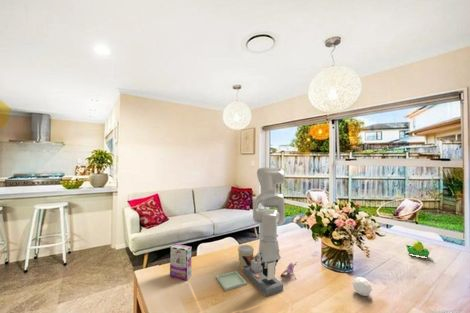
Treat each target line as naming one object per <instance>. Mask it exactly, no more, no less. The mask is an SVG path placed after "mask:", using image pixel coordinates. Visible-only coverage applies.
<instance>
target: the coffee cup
mask: <svg viewBox="0 0 470 313" xmlns="http://www.w3.org/2000/svg"><path fill="white" fill-rule="evenodd" d="M237 250H238V266H239V270H240V271H244V268H245V267H249V266H251V260H254V252H255V250H254V247H253V246H251V245H247V244H244V245H239V247H238V249H237Z"/></svg>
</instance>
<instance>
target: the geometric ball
mask: <svg viewBox="0 0 470 313" xmlns="http://www.w3.org/2000/svg"><path fill="white" fill-rule="evenodd" d="M352 285H353V290H354V291H355V292H356V293H357V294H359V295H360V296H362V297H363V296H364V297H368V296H369V295H370V294H371V292H372V290H373V289H372V285H371V283H370V282H369V280H368V279H366V278H365V277H362V276H360V277H359V276H357V277H356V278H354V280H353V282H352Z"/></svg>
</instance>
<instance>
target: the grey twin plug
mask: <svg viewBox="0 0 470 313" xmlns="http://www.w3.org/2000/svg"><path fill="white" fill-rule="evenodd" d="M257 260H258V256H256V257H255V258H253V260H251V271H252V272H253V273H254V274H255V273H259V272H261V265H260V264H258V263H257Z"/></svg>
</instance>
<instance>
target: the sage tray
mask: <svg viewBox="0 0 470 313" xmlns="http://www.w3.org/2000/svg"><path fill="white" fill-rule="evenodd" d="M216 280H217V281H218V283H219V284H220V285H221V287H222V289H224V292H226V291H230V290H233V289H236V288H239V287H242V286H247V281H246V280H245V279H244V278H243V276H241V275H240V273H239V272H238V271H237V270H234V271H229V272H226V273H223V274H217V275H216Z"/></svg>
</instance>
